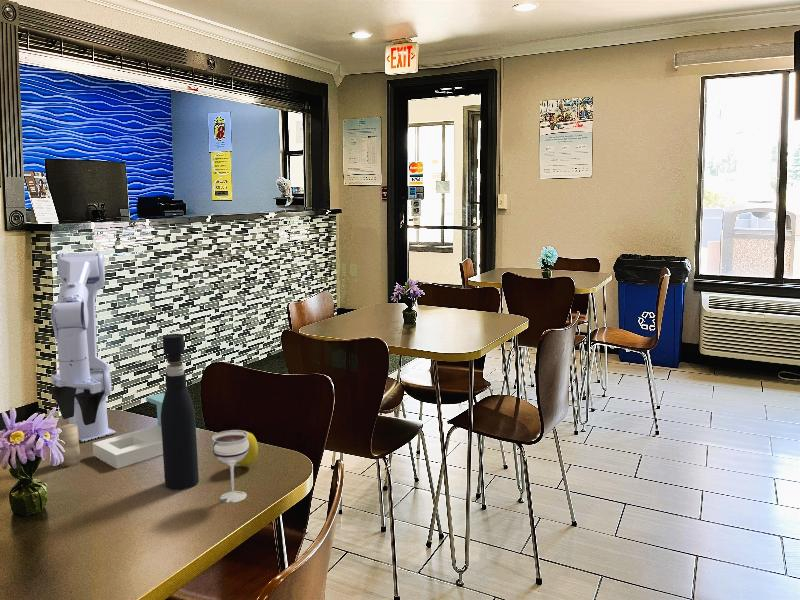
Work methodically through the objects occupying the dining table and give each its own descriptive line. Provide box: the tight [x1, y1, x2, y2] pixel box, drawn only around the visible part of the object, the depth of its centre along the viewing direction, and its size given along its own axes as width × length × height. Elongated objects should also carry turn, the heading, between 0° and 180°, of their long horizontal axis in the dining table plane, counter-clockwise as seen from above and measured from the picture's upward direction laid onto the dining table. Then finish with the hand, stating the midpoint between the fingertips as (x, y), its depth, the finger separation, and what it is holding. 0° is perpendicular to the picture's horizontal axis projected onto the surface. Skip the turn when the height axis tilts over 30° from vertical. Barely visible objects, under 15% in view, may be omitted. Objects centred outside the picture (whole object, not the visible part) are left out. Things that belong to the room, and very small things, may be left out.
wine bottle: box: [161, 333, 200, 491], centre depth 129 cm, size 6×6×30 cm
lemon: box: [236, 430, 259, 468], centre depth 139 cm, size 6×6×8 cm
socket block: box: [92, 392, 165, 470], centre depth 148 cm, size 11×17×10 cm, turn 139°
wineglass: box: [211, 429, 249, 504], centre depth 125 cm, size 7×7×12 cm
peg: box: [57, 423, 81, 467], centre depth 142 cm, size 4×4×8 cm
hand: (78, 420), depth 141 cm, fingers open, 7 cm apart
